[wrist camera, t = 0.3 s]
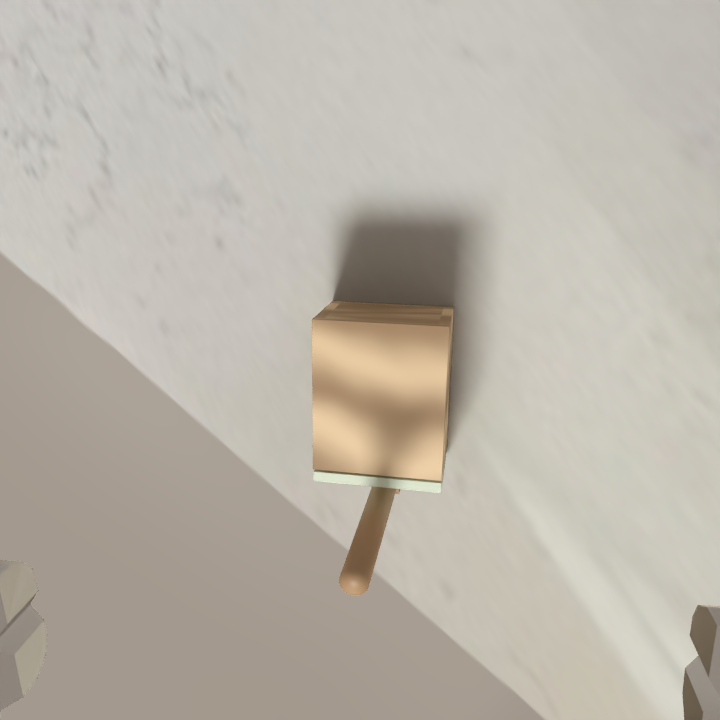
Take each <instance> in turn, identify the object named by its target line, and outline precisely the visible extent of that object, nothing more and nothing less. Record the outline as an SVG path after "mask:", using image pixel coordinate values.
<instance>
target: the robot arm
mask: <svg viewBox="0 0 720 720" xmlns="http://www.w3.org/2000/svg"><path fill="white" fill-rule="evenodd" d="M37 592H38V587H37V583H36V579H35V575H34V571H33V568H31V567H30V566H28V565H26V564H25V563H23V562H17V561H6V560H0V710H2V709H4V708H6V707H7V706H9V705H11V704H12V703H14V702H16V701H18V700H19V699H21V698H23V697H24V696H25V694H26V693H27V692H28V690H29V689H30V687H31V686H32V685H33V683H34V682H35V681H36V679H37V677H38V675H39V672H40V670H41V667H42V664H43V662H44V659H45V656H46V647H47V633H46V627H45V621H44V619H43V618H42V617H41V616H40V615H39V614H38V612H37V611H36V610H35V609H34V608H33V607H32V606H31V602H32V600H33V599H34V597H35V595H36V593H37ZM690 637H691V639H692V642H693V644H694V646H695V648H696V651H697V653H698V655H699V656H698V657H697V658H696V659H694V660H693V661H692V662H691V663H690V664H689V665H688V666H687V667H686V668H685V673H684V683H683V707H684V720H720V606H706V605H698V606H697V608H696V610H695V612H694V615H693V617H692V624H691V630H690Z"/></svg>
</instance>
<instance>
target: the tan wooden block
mask: <svg viewBox="0 0 720 720" xmlns="http://www.w3.org/2000/svg"><path fill="white" fill-rule="evenodd" d="M453 316H454V307H443V306H422V305H402V304H381V303H361V302H340V301H332V302H331V303H330V304H329V305H328V306H327V307H325V308H324V309H323V310H322V311H321V312H320V313H319V314H318V315H317V316H315V317H314V318H313V319H312V387H313V469H316V470H327V471H337V472H348V473H359V474H370V475H381V476H392V477H403V478H414V479H425V480H436V481H441V480H442V473H443V467H444V460H445V453H446V447H447V430H448V411H449V392H450V373H451V354H452V335H453Z"/></svg>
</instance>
